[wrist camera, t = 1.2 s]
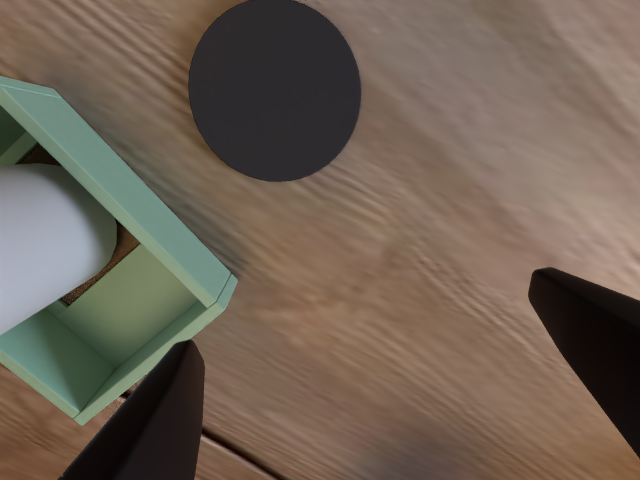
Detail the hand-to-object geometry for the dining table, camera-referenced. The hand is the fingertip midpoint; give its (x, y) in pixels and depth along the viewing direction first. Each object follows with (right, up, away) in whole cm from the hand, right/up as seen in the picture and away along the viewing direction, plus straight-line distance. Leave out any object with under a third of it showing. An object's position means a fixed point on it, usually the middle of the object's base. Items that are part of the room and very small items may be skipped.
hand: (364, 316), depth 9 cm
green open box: (-16, +1, +13) cm, 21 cm away
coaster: (-4, +11, +12) cm, 16 cm away
